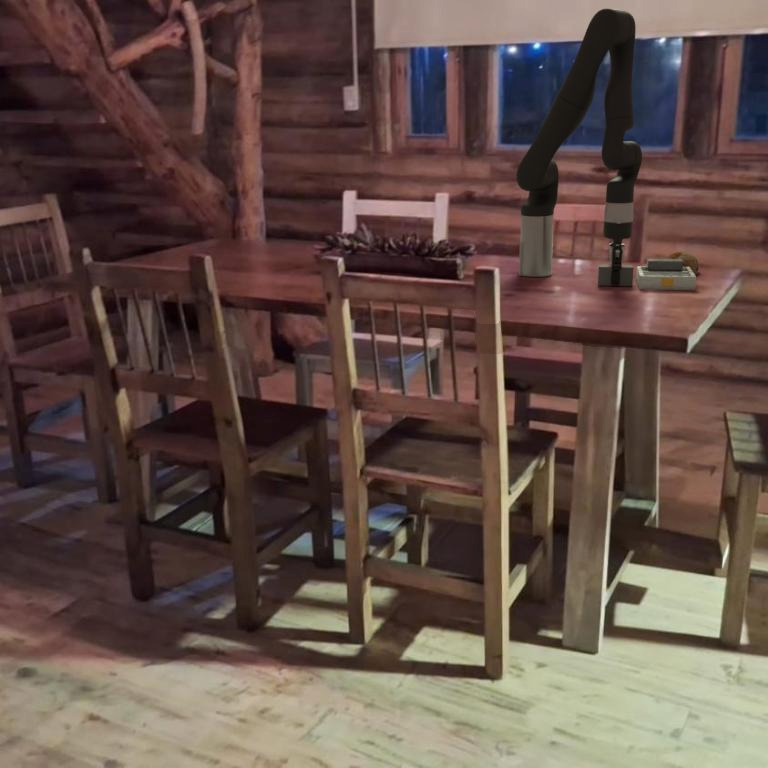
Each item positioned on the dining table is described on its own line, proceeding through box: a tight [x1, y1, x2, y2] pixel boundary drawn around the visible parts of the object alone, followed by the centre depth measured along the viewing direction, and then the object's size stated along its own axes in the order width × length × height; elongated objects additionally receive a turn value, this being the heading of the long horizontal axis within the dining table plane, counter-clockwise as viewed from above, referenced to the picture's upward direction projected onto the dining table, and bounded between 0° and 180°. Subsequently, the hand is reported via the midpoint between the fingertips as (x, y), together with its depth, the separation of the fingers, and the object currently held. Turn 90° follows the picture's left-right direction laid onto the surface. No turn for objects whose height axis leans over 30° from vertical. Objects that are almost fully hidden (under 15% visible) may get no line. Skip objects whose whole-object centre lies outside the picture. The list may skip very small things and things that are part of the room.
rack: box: [635, 258, 697, 291], centre depth 235 cm, size 14×16×6 cm
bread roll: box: [665, 250, 700, 275], centre depth 251 cm, size 10×10×8 cm
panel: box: [597, 264, 635, 287], centre depth 236 cm, size 9×4×5 cm, turn 77°
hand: (614, 283), depth 237 cm, fingers closed on panel, 4 cm apart
